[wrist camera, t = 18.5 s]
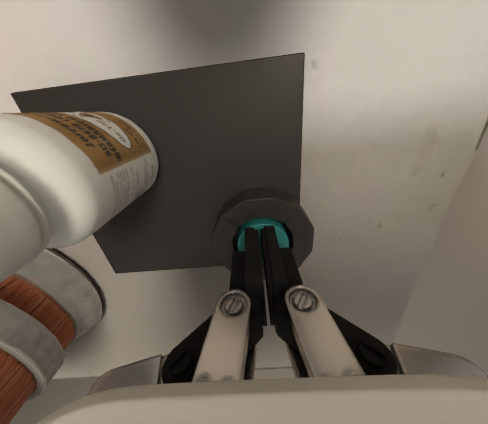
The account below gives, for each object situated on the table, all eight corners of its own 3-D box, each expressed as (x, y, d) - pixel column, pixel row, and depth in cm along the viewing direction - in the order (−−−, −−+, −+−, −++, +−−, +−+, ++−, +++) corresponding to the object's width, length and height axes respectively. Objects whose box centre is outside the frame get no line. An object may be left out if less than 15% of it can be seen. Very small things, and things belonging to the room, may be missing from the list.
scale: (306, 58, 10) (329, 38, 7) (299, 247, 15) (310, 277, 13) (37, 94, 10) (-34, 89, 8) (125, 260, 16) (101, 291, 13)
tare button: (284, 208, 12) (289, 221, 10) (284, 247, 13) (289, 263, 12) (235, 213, 12) (234, 226, 11) (241, 250, 13) (240, 266, 12)
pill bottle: (161, 123, 10) (-38, 157, 3) (160, 199, 12) (40, 325, 5) (69, 100, 9) (-416, 79, 2) (85, 184, 11) (-159, 298, 5)
